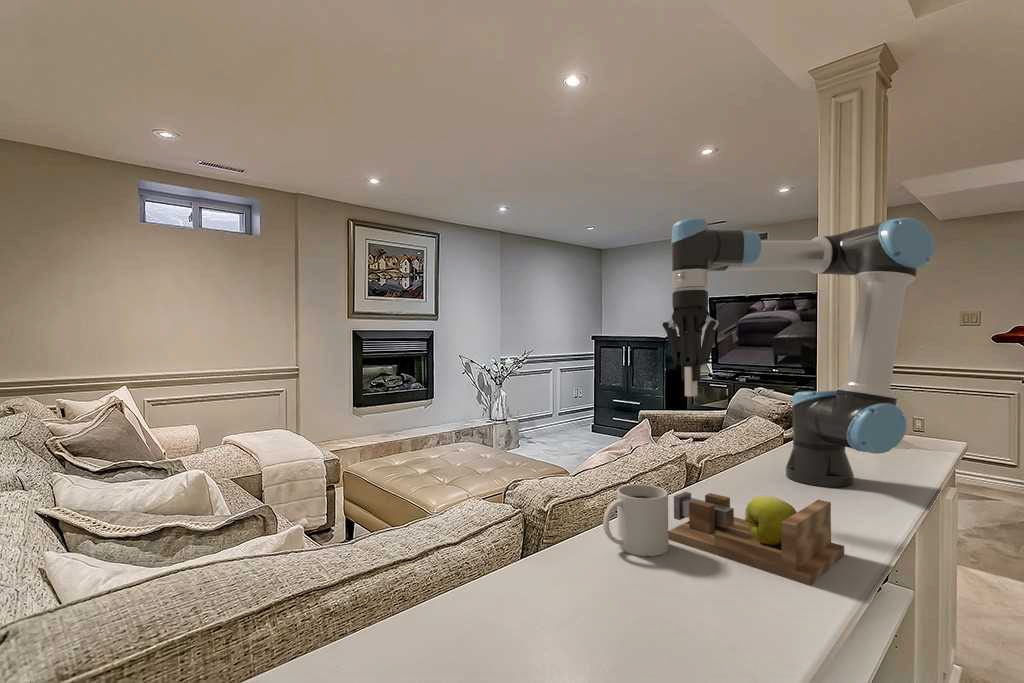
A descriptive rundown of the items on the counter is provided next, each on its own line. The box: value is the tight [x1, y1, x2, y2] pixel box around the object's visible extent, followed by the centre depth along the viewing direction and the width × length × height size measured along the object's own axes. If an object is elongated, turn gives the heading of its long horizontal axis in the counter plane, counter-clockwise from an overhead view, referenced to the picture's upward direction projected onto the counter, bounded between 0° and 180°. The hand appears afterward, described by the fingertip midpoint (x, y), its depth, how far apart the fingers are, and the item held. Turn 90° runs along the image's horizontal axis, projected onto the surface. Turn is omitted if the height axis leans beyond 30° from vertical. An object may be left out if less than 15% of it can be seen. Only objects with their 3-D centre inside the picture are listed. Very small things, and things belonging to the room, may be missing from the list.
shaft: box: [673, 491, 735, 528], centre depth 98 cm, size 4×10×4 cm, turn 41°
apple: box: [744, 495, 798, 545], centre depth 88 cm, size 8×9×8 cm
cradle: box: [668, 492, 845, 586], centre depth 91 cm, size 16×24×8 cm, turn 41°
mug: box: [602, 483, 670, 557], centre depth 91 cm, size 11×10×10 cm
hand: (691, 395), depth 113 cm, fingers closed
